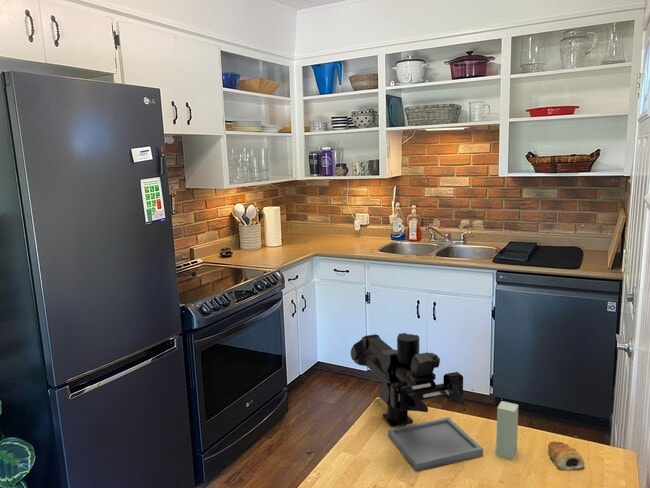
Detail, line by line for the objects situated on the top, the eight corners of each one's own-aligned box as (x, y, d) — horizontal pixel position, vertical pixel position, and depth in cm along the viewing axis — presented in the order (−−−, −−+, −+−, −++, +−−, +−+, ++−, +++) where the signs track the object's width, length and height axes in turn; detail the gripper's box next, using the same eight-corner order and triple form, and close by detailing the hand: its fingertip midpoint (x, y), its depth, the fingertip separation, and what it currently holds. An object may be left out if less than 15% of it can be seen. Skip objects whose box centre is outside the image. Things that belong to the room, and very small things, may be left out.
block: (496, 455, 123) (497, 407, 121) (500, 447, 126) (501, 400, 124) (513, 460, 121) (514, 411, 118) (516, 451, 124) (518, 404, 122)
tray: (388, 436, 132) (388, 429, 132) (448, 423, 138) (448, 417, 137) (416, 471, 117) (416, 464, 117) (483, 456, 123) (483, 448, 122)
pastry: (540, 448, 125) (541, 434, 124) (567, 447, 125) (567, 433, 125) (559, 472, 116) (560, 457, 115) (587, 470, 116) (588, 455, 115)
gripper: (379, 354, 125) (408, 379, 110) (445, 343, 130) (481, 366, 115) (380, 395, 127) (408, 426, 112) (445, 383, 132) (480, 411, 117)
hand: (445, 406), depth 114 cm, fingers open, 9 cm apart
